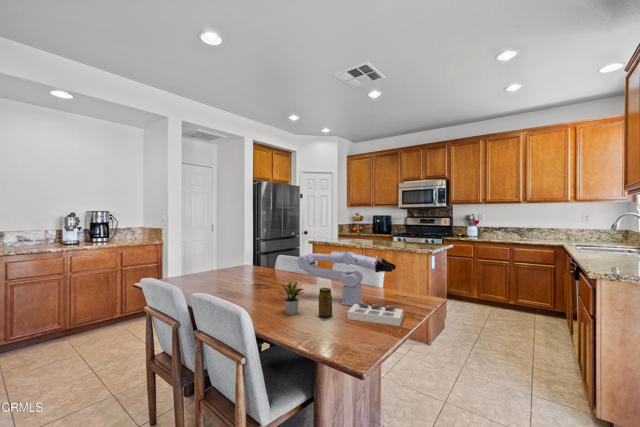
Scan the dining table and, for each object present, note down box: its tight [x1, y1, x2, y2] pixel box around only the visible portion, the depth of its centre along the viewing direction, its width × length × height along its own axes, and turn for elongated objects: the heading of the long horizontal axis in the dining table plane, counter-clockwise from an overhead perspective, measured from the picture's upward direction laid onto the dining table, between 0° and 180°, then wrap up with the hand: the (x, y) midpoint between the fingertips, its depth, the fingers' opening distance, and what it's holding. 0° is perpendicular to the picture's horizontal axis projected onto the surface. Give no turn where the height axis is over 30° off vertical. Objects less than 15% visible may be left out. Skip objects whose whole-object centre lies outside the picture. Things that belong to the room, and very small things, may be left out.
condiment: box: [314, 287, 339, 321], centre depth 128 cm, size 7×8×12 cm
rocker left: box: [358, 301, 370, 308], centre depth 130 cm, size 4×3×2 cm
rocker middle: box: [370, 303, 383, 309], centre depth 127 cm, size 4×3×2 cm
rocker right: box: [385, 304, 396, 311], centre depth 125 cm, size 4×3×2 cm
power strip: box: [347, 304, 404, 327], centre depth 127 cm, size 22×15×4 cm
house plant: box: [277, 277, 305, 316], centre depth 132 cm, size 14×14×16 cm
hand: (393, 268), depth 136 cm, fingers open, 7 cm apart
